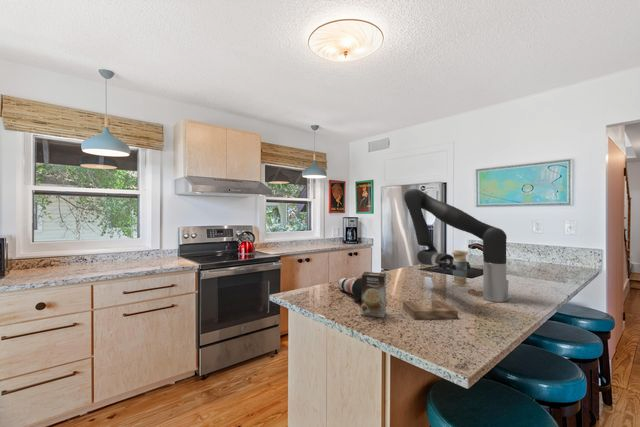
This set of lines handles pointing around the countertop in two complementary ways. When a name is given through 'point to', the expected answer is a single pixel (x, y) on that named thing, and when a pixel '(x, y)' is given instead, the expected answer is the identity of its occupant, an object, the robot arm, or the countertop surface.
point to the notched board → (430, 310)
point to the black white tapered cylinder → (352, 287)
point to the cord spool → (460, 268)
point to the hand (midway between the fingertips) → (462, 267)
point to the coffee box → (373, 294)
